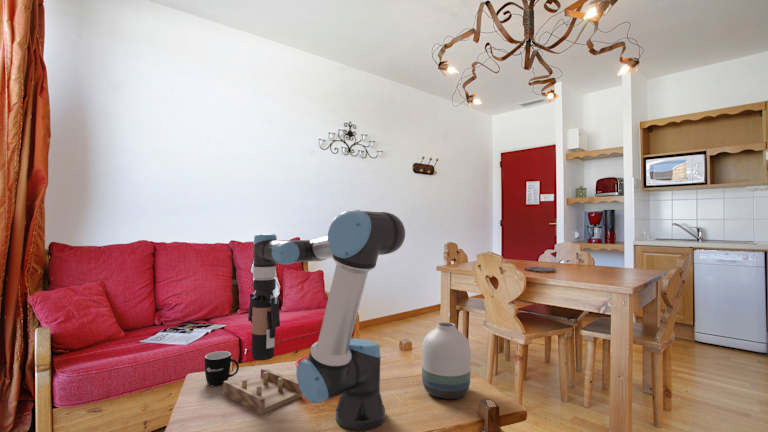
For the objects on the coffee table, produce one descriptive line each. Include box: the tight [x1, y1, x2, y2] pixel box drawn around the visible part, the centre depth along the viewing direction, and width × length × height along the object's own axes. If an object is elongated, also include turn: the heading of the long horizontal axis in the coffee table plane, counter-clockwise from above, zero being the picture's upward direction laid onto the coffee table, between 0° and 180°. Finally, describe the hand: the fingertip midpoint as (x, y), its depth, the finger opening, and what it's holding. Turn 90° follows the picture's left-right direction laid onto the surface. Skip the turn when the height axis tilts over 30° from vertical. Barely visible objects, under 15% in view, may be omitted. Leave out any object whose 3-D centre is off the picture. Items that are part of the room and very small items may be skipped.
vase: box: [421, 321, 471, 400], centre depth 134 cm, size 17×17×24 cm
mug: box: [204, 350, 240, 387], centre depth 140 cm, size 12×9×10 cm
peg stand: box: [222, 367, 303, 416], centre depth 129 cm, size 22×16×6 cm
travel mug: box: [251, 298, 275, 362], centre depth 130 cm, size 8×8×20 cm
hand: (263, 344), depth 130 cm, fingers closed on travel mug, 8 cm apart
